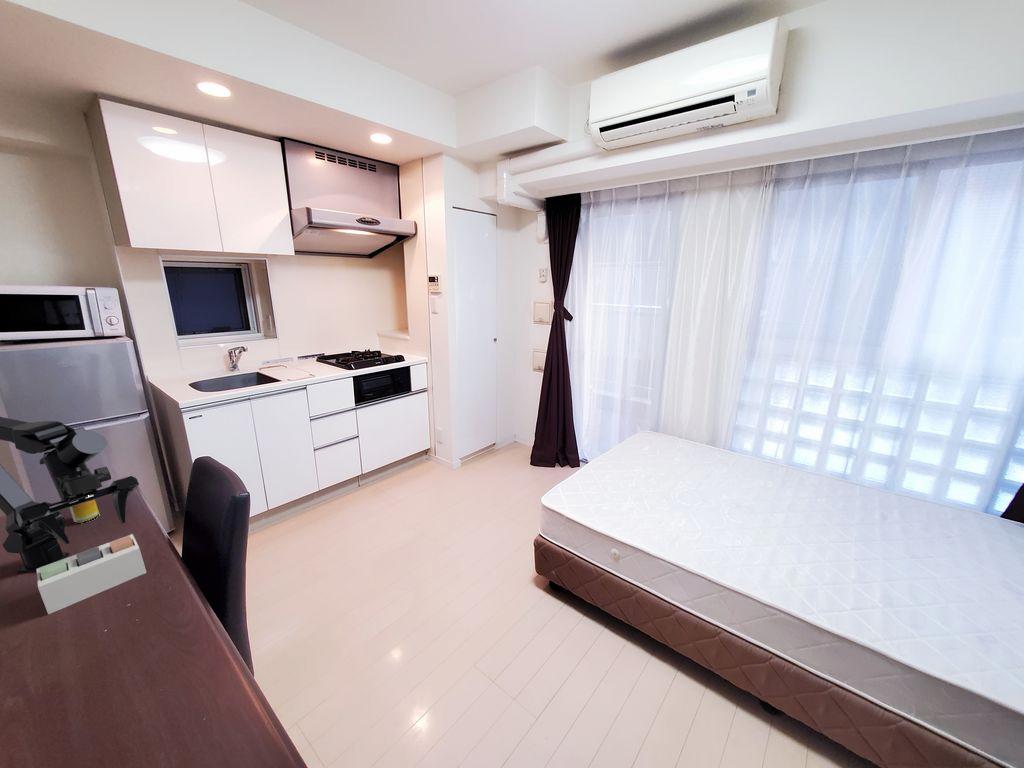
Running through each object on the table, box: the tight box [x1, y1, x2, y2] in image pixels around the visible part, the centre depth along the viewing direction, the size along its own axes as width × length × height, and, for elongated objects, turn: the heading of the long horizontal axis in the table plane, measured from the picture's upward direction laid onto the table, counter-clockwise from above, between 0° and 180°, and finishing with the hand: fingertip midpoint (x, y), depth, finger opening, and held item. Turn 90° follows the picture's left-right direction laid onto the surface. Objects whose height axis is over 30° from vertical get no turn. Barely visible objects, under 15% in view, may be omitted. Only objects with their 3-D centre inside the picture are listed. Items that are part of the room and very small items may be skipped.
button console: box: [36, 533, 147, 615], centre depth 93 cm, size 9×16×7 cm, turn 141°
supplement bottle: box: [69, 495, 100, 523], centre depth 119 cm, size 5×5×10 cm
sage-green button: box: [40, 558, 68, 580], centre depth 88 cm, size 4×4×2 cm
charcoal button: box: [75, 546, 102, 566], centre depth 92 cm, size 4×4×2 cm
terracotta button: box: [110, 534, 134, 553], centre depth 96 cm, size 4×4×2 cm
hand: (97, 533), depth 90 cm, fingers open, 9 cm apart
